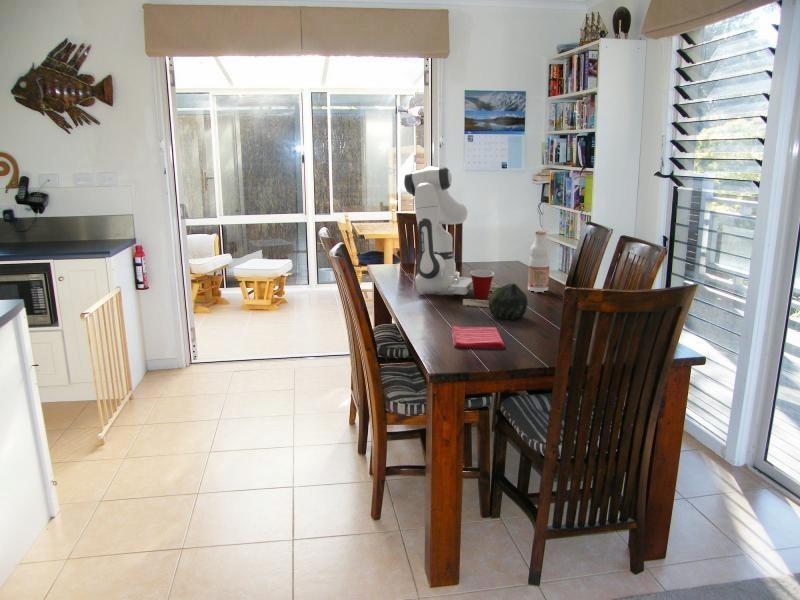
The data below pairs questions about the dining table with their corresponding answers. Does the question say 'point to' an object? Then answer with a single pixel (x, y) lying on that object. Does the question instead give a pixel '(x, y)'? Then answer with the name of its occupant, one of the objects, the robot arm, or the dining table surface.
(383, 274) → the dining table surface
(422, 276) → the robot arm
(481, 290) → the plastic cup
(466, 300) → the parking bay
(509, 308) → the squash
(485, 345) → the dish towel
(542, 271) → the fruit juice
